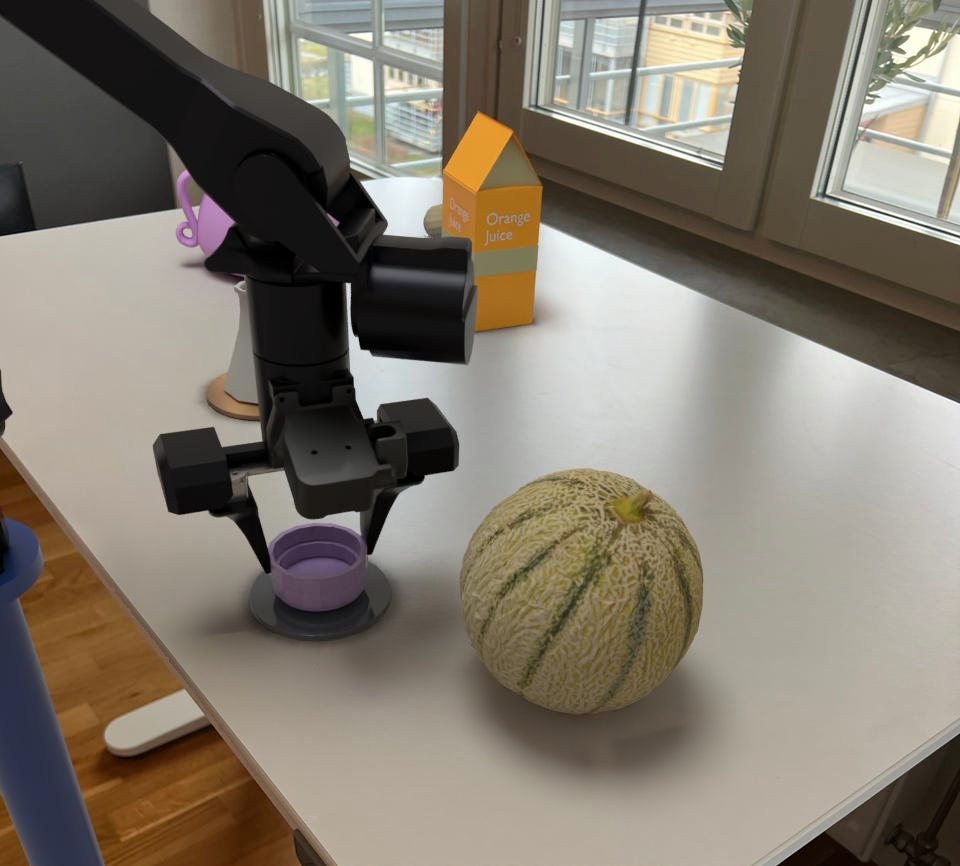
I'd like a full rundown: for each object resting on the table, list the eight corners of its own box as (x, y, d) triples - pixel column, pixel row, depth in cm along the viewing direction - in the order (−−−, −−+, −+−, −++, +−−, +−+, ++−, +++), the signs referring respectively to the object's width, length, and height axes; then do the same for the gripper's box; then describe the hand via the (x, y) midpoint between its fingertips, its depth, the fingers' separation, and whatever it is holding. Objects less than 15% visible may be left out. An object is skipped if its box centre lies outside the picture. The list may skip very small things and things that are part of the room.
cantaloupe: (457, 609, 70) (462, 416, 61) (662, 613, 71) (699, 422, 61) (456, 762, 59) (463, 554, 49) (701, 765, 59) (754, 560, 50)
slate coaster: (266, 654, 66) (265, 648, 65) (237, 570, 73) (236, 565, 73) (409, 624, 69) (409, 618, 69) (368, 546, 76) (368, 541, 76)
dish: (283, 622, 67) (279, 586, 65) (262, 566, 72) (257, 532, 70) (379, 603, 69) (378, 568, 67) (353, 550, 74) (351, 516, 72)
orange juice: (470, 332, 108) (477, 132, 96) (439, 303, 115) (442, 111, 102) (534, 323, 111) (549, 127, 98) (500, 295, 117) (510, 108, 104)
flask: (318, 386, 96) (311, 283, 89) (267, 414, 91) (256, 306, 85) (261, 367, 99) (251, 265, 92) (209, 392, 94) (194, 287, 87)
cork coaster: (217, 427, 90) (217, 422, 89) (198, 377, 97) (197, 372, 97) (336, 411, 93) (336, 406, 93) (308, 363, 101) (307, 359, 100)
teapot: (181, 308, 111) (161, 175, 102) (180, 243, 127) (162, 125, 118) (377, 298, 115) (373, 171, 106) (351, 237, 131) (346, 122, 122)
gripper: (157, 429, 50) (200, 661, 60) (496, 384, 56) (484, 602, 66) (132, 343, 58) (173, 561, 68) (431, 311, 64) (429, 516, 74)
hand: (317, 561), depth 69 cm, fingers closed on dish, 7 cm apart
